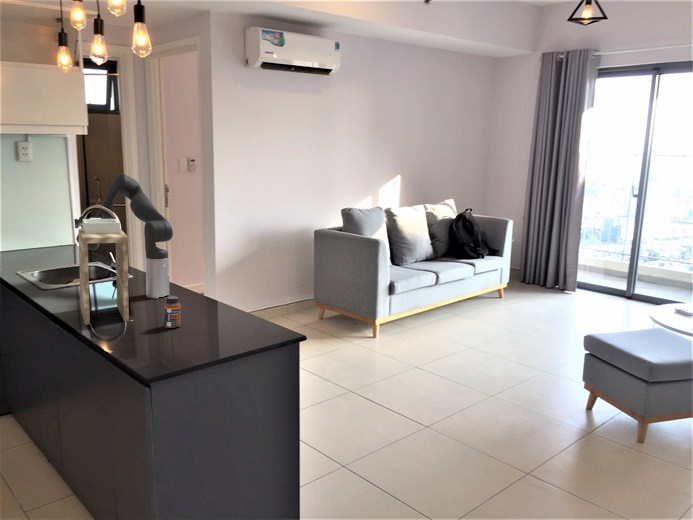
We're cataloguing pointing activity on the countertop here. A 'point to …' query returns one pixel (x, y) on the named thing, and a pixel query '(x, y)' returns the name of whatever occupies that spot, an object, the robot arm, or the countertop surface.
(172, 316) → the supplement bottle
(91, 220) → the tray
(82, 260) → the oak shelf
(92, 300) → the countertop surface
